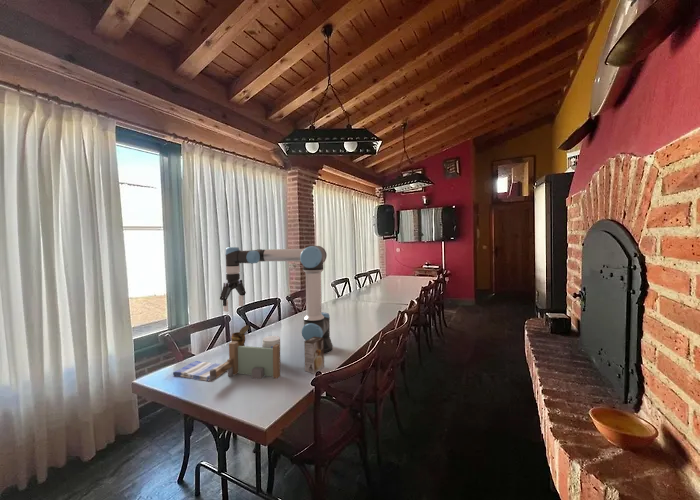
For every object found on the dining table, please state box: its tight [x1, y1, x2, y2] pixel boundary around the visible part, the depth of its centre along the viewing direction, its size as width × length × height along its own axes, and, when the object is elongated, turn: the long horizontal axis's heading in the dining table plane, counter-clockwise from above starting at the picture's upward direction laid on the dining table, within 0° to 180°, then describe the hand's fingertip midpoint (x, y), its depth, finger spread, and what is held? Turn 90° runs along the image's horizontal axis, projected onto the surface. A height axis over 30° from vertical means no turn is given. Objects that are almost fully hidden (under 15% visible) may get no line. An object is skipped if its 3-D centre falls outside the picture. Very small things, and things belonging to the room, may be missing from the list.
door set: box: [227, 340, 281, 380], centre depth 153 cm, size 26×6×16 cm, turn 79°
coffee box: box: [303, 336, 325, 374], centre depth 160 cm, size 9×6×16 cm
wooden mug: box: [230, 324, 250, 346], centre depth 184 cm, size 9×14×18 cm, turn 57°
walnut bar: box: [210, 358, 233, 381], centre depth 146 cm, size 16×3×4 cm, turn 169°
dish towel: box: [172, 360, 223, 382], centre depth 159 cm, size 17×24×3 cm
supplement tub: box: [261, 335, 281, 348], centre depth 166 cm, size 10×10×15 cm
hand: (233, 308), depth 181 cm, fingers open, 13 cm apart
